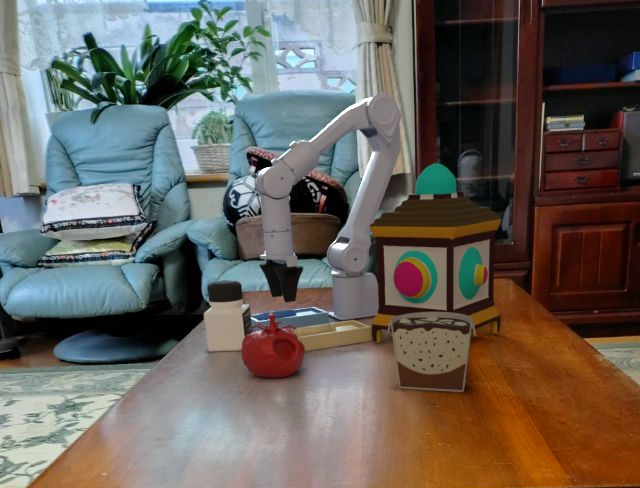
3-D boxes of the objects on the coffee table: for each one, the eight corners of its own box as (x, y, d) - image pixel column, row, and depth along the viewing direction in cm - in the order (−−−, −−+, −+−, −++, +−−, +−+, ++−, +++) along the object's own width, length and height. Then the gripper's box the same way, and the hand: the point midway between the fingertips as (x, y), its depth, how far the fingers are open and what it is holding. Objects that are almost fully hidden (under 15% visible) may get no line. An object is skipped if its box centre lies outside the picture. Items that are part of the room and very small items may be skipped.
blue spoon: (312, 319, 145) (311, 304, 143) (318, 322, 142) (317, 307, 140) (256, 326, 140) (255, 312, 139) (262, 329, 137) (260, 314, 136)
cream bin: (354, 333, 132) (353, 319, 131) (372, 340, 126) (371, 326, 125) (280, 344, 126) (279, 330, 125) (295, 352, 120) (294, 338, 119)
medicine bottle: (247, 350, 123) (239, 283, 118) (207, 352, 123) (199, 285, 119) (253, 341, 129) (247, 277, 125) (216, 342, 129) (208, 279, 125)
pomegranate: (232, 380, 105) (225, 320, 102) (262, 363, 114) (256, 308, 110) (289, 384, 102) (284, 322, 98) (316, 366, 110) (312, 309, 107)
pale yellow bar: (352, 334, 130) (351, 318, 129) (360, 337, 127) (359, 321, 126) (292, 343, 125) (290, 326, 124) (299, 347, 122) (297, 330, 121)
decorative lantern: (456, 357, 112) (458, 161, 101) (360, 344, 123) (352, 167, 113) (510, 332, 127) (516, 159, 116) (420, 323, 138) (418, 164, 127)
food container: (482, 380, 99) (483, 312, 96) (474, 392, 94) (475, 321, 90) (400, 375, 103) (399, 310, 100) (389, 387, 98) (387, 318, 94)
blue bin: (314, 318, 147) (314, 306, 146) (328, 324, 140) (328, 312, 140) (247, 328, 141) (245, 315, 140) (258, 334, 135) (257, 321, 134)
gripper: (247, 230, 141) (254, 296, 146) (270, 234, 129) (277, 306, 133) (279, 228, 144) (285, 292, 149) (305, 231, 131) (310, 302, 136)
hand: (283, 299), depth 141 cm, fingers open, 7 cm apart
